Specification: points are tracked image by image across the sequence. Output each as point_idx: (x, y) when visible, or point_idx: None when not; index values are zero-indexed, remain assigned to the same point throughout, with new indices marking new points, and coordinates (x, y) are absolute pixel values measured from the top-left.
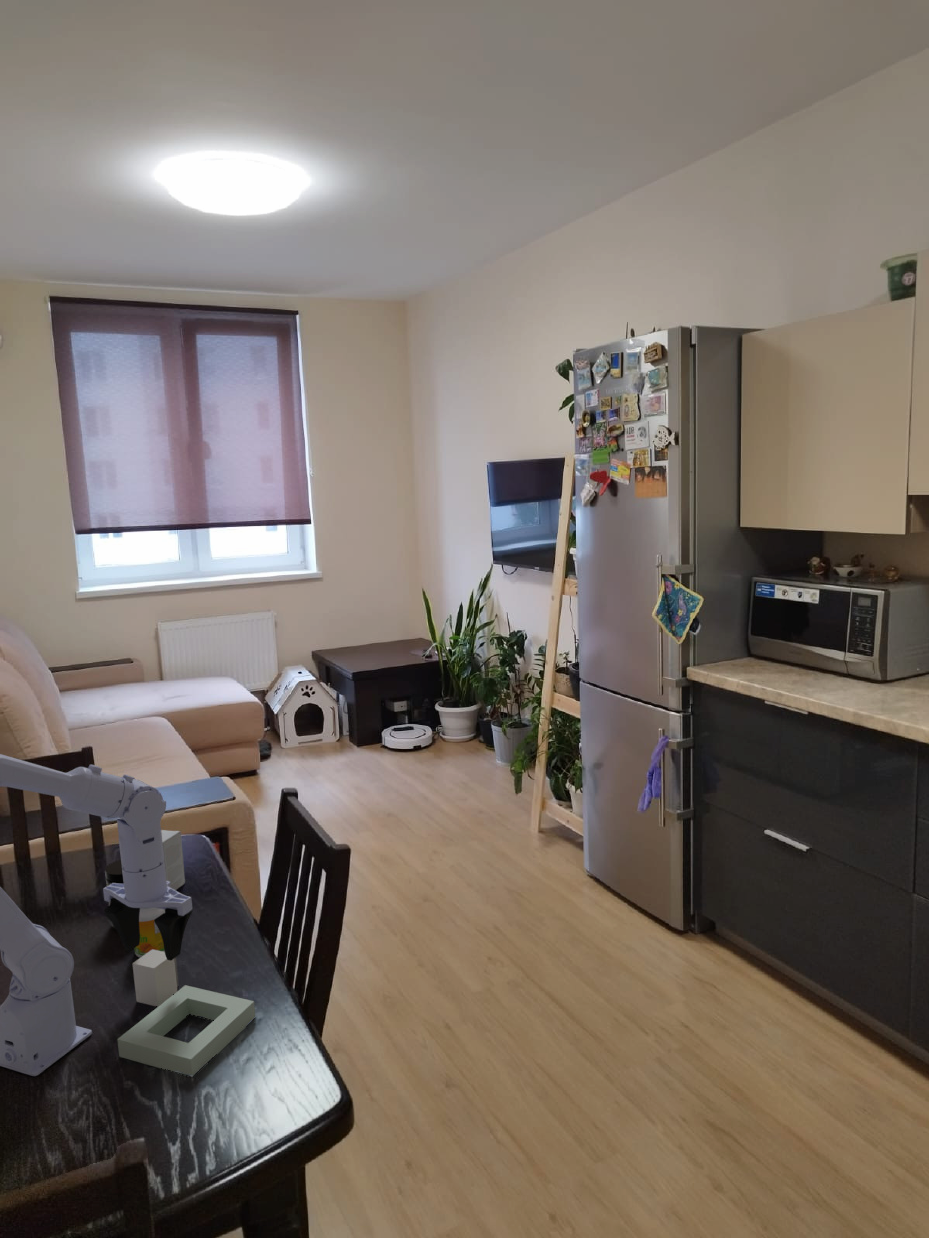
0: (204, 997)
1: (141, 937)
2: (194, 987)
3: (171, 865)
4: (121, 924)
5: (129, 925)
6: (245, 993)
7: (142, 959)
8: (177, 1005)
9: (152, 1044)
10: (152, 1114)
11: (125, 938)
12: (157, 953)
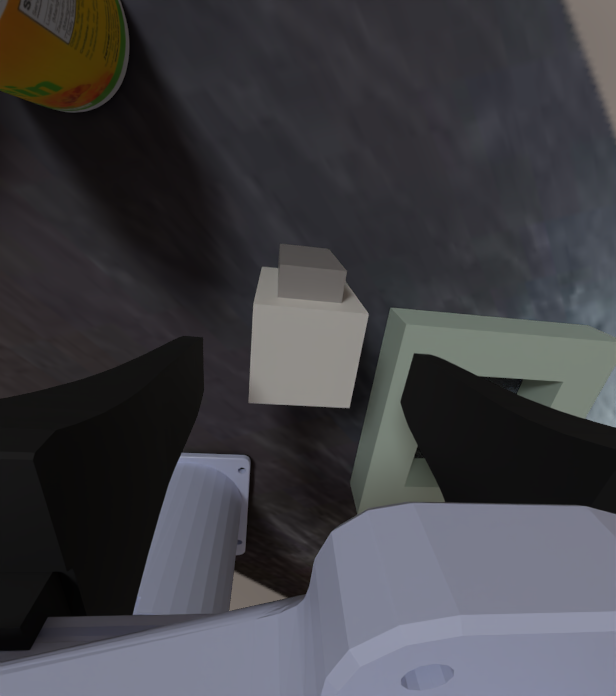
0: (486, 359)
1: (22, 90)
2: (438, 327)
3: None
4: (154, 524)
5: (161, 446)
6: (539, 236)
7: (267, 374)
8: None
9: None
10: None
11: (183, 440)
12: (299, 327)
